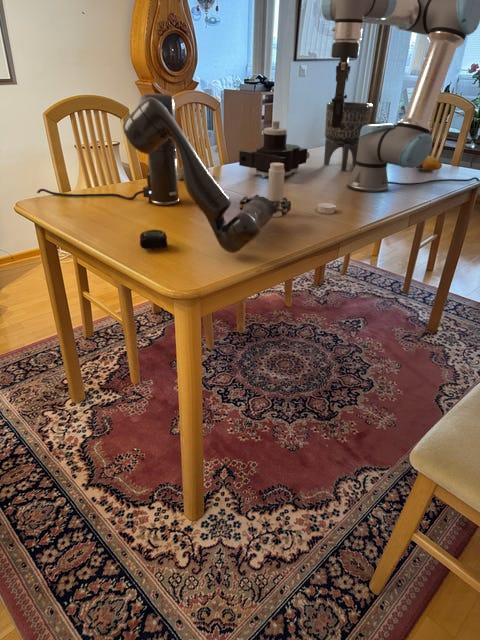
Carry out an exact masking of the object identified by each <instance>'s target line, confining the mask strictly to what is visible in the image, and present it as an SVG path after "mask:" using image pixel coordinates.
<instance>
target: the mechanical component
mask: <svg viewBox="0 0 480 640" xmlns="http://www.w3.org/2000/svg"><path fill="white" fill-rule="evenodd" d="M287 138H288V129H287V128H286V127H280V121H279V120H272V126H271V127H265V128H264V129H263V145H262V146H258V147H257V148H256V151H250V150H245V149H241V150H239V153H238V154H239V155H238V157H239V159H238V166H240V167H245V168H250V169H255V173H256V174H257V175H261V177H262V178H267V177H269V169H270V164H271V163H283V164H284V170H285V174H284V177H285V176H291V175H292V173H298V171H299V167H300V165H303V164H304V165H305V164H307V160H309V158H310V156H311V154H310V152H309V151H308V148H304V147H301V146H299V145H297V144H290V143H287Z"/></svg>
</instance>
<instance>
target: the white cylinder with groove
mask: <svg viewBox="0 0 480 640" xmlns="http://www.w3.org/2000/svg"><path fill="white" fill-rule="evenodd" d="M317 212H318V213H321V214H327V215H330V214H334V213H336V205H335V204H333V203H330V202H329V203H328V202H322V203H318V204H317Z"/></svg>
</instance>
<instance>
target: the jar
mask: <svg viewBox="0 0 480 640" xmlns="http://www.w3.org/2000/svg"><path fill="white" fill-rule="evenodd" d="M284 174H285V170H284V164H283V163H271V164H270V169H269V176H268V180H267V183H268V184H267V199H268V200H276V199H277V200H282V199H283V198H284V189H285V188H284V187H285V176H284ZM274 204H275V203H274ZM280 207H281V203H280ZM282 216H283V215H282V213H281V212H276V213H274V214H273V216H272V218H279V217H282Z"/></svg>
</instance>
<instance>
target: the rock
mask: <svg viewBox="0 0 480 640" xmlns="http://www.w3.org/2000/svg"><path fill="white" fill-rule="evenodd" d="M205 168H206V169H207V171H208V172H209V173H210V170H209V168H208V167H207V166H205ZM177 179H178V181H179V180H182V181H184V178H183V171H182V166H181V167H180V168H179V170H178V173H177Z"/></svg>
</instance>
